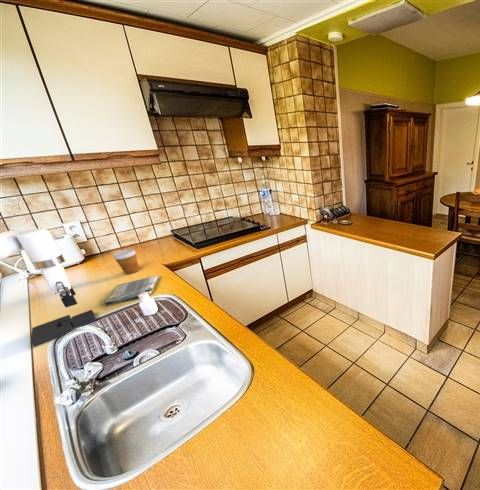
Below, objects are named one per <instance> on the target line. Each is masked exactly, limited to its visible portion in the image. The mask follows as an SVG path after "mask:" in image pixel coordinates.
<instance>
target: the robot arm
mask: <svg viewBox="0 0 480 490" xmlns="http://www.w3.org/2000/svg"><path fill="white" fill-rule="evenodd" d="M22 251H24V253H25V254H26V256H27V258H28V259H29V261H30V263H31V264H32V265H33V268H34V269H35V270H36V271H41V275H42V277H43V279H44V280H45V283H46V284H47V286H48V287H49V290H50V291H51V293H52V294H53V295H56V294H58V296H59V297H60V301H61V303H62V304H63V306H64V308H69V307H73V306H75V305H78V301H77V300H76V298H75V296H76V294H77V293H76V292H75V289H74V288H73V286H72V284H71V280H70V277H69V274H68V273H67V271H66V269H65V267H64V264H66V263H67V262H66V259H65V258H64V255H63V254H62V252H61V251H60V249H59V247H58V245H57V243H56V241H55V239H54V237H53V235H52V233H51V232H50V230H48V229H47V228H33V229H28V230H5V231H2V232H0V261H2V260H5V259H8V258H9V257H11V256H13V255H15V254H17V253H19V252H22Z"/></svg>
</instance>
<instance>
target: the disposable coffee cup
mask: <svg viewBox="0 0 480 490" xmlns="http://www.w3.org/2000/svg"><path fill="white" fill-rule="evenodd" d="M136 254H137V253H136V250H135V249H132V248H126V249H122V250H119V251H117V252H116V251H115V252H114V254H113V256H112V258H113V259H114V260H115V261H116V262H117V264H118V266H119V267H120V268H121V269H122V271H123V272H124V274H125V275H132V274H137V272H140V265H139V262H138V258H137V255H136Z"/></svg>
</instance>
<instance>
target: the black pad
mask: <svg viewBox="0 0 480 490" xmlns="http://www.w3.org/2000/svg"><path fill="white" fill-rule="evenodd" d="M95 315H96V314H95V313H94V311H93V309H89V310H87V311H84V312H81V313H78V314H76V315H73V316H71V319H69V320H66V321H63V322H61V326H63V325H66V324H68V323H70V324H71V325H72V327H73V328H79V327H81V326H84V325H87V324H89V323H92V322H94V321H96V320H97V319H96V316H95Z"/></svg>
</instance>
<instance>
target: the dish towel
mask: <svg viewBox="0 0 480 490" xmlns="http://www.w3.org/2000/svg"><path fill="white" fill-rule="evenodd" d="M159 280H160V275H154V276H149V277H145V278H142V279H141V278H140V279H138V280H137V279H136V280H132V281H128V282H124V283H121V284H118V285H116V287H115V289H114V290H113V292H112V293H111V294H110V296H109V297H108V298H107V299H106V300H105V302H104V303H103V305H104V306H106V307H107V306H110V305H115V304H118V303H122V302H126V301H127V302H128V301H130V300H134V299H139V297H138V295H139V294H141V293H143V292H148V294H149V296H151V294H152V293H153V291H154V289H155V287H156V286H157V283H158V281H159Z"/></svg>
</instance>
